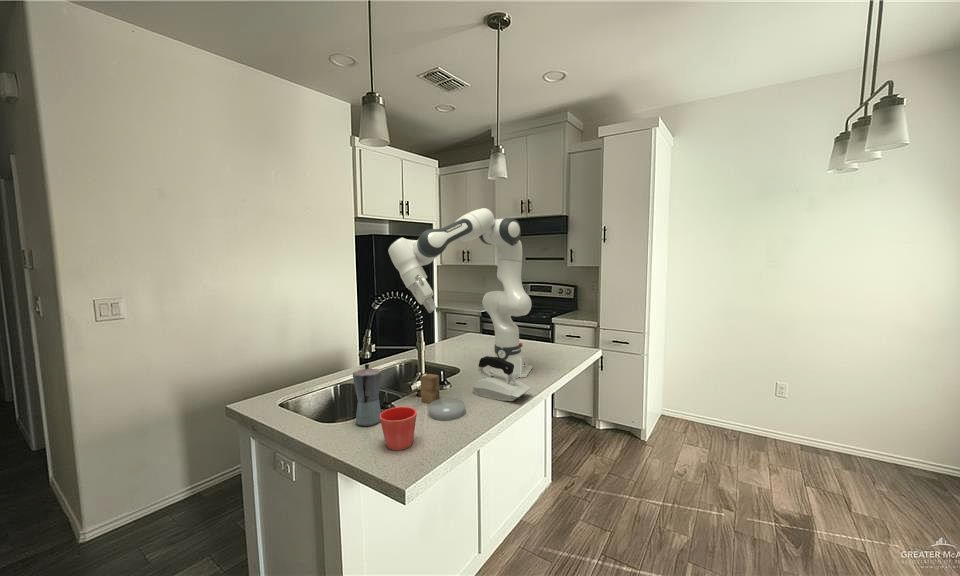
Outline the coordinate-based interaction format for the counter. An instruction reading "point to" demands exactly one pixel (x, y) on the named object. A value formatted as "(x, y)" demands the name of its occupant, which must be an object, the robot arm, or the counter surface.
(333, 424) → the counter surface
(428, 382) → the walnut block
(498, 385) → the iron
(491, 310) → the robot arm
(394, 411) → the flower pot
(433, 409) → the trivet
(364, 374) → the moka pot
